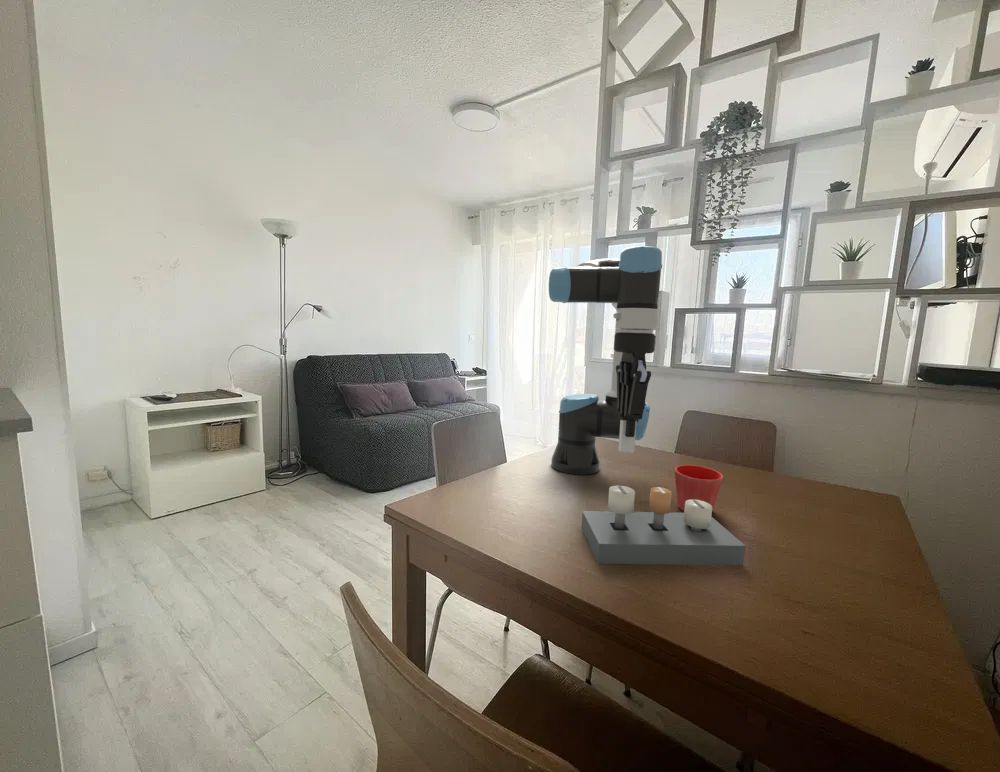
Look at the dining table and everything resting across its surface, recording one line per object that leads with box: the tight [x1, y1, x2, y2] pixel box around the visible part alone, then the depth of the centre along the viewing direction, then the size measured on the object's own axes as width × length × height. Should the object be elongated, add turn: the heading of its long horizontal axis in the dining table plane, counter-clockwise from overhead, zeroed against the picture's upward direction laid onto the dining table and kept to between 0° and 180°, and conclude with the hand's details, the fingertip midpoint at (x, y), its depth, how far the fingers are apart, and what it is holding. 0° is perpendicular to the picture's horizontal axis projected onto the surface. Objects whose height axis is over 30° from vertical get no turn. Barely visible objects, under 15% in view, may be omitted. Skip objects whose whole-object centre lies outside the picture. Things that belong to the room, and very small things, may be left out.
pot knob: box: [648, 486, 673, 529], centre depth 86 cm, size 4×4×8 cm
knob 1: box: [607, 485, 636, 529], centre depth 85 cm, size 5×5×8 cm
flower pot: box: [674, 464, 724, 512], centre depth 104 cm, size 11×11×10 cm
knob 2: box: [683, 500, 713, 531], centre depth 86 cm, size 5×5×8 cm
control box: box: [581, 510, 746, 566], centre depth 86 cm, size 14×28×4 cm, turn 92°
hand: (626, 451), depth 84 cm, fingers closed
